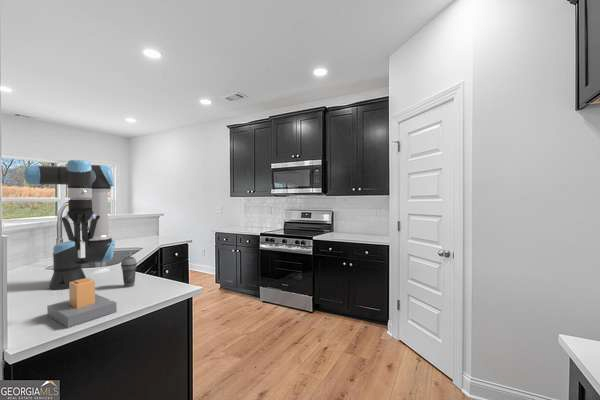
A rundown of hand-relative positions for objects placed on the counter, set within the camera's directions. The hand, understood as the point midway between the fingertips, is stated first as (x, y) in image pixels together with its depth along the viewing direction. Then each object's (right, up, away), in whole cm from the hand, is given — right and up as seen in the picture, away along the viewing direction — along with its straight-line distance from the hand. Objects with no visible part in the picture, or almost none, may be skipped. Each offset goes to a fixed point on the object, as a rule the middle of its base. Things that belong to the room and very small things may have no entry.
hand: (81, 257), depth 111 cm
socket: (0, -23, 0) cm, 23 cm away
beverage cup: (-2, -22, +34) cm, 41 cm away
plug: (0, -21, 0) cm, 21 cm away
